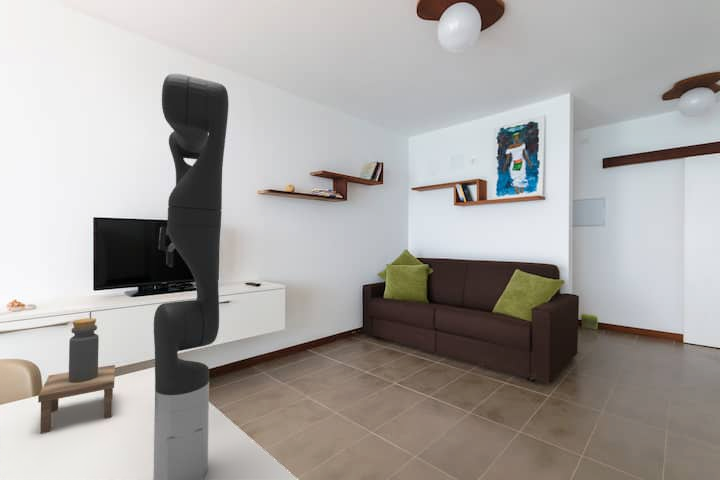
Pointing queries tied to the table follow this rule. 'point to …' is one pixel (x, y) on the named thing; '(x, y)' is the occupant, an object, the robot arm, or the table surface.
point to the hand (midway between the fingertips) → (189, 266)
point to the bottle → (83, 351)
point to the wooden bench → (74, 392)
